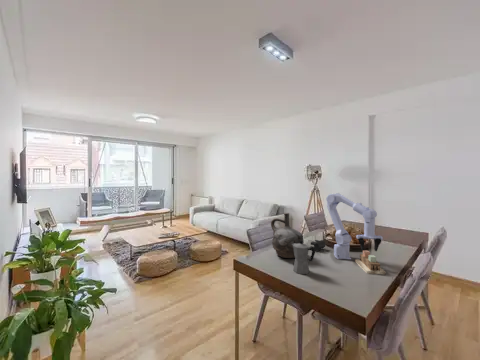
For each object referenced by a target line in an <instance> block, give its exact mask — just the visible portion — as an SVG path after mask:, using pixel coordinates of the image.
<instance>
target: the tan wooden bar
mask: <svg viewBox="0 0 480 360" xmlns="http://www.w3.org/2000/svg"><path fill="white" fill-rule="evenodd" d="M359 259H360V261H361V262H362V263H363V264H365V265H366V266H367V267H368V268H369V269H370V270H374V271H376V270H378V271H380V268H381V263H380V262H378V261H377V260H376V262H370V261H369V260H368V257H364V256H363V253H360V254H359Z"/></svg>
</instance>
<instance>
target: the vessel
mask: <svg viewBox="0 0 480 360" xmlns="http://www.w3.org/2000/svg"><path fill="white" fill-rule="evenodd" d="M283 214H284V218H282V217H274V218H272V220H271V221H270V227H271V229H272V231H273V232H272V234H273V235H272V240H271V244H272V248H273V249H274V250H275V253H276V255H278V256H279V257H280V258H283V259H284V258H285V259H294V258H295V256H294V248H293V246H292V245H291V244H294V243H296V244H298V243H300V241H303V242H302V244H305V243H304V235H303V233H301V232H300V231H299V230H297V229H296V228H292V227H291V226H290V225H291V224H290V213H289V212H284V213H283ZM276 222H280V223H283V224H284V227H279V228H277V227H276V226H275V223H276Z"/></svg>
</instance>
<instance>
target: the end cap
mask: <svg viewBox="0 0 480 360" xmlns="http://www.w3.org/2000/svg"><path fill="white" fill-rule="evenodd" d="M310 245H312V246H310V247H313V248H314V250H315V252H319V251H320V250H322V249H325V247H326V242H325V240H322V239H321V240H318V239H315V240H314V241H310Z"/></svg>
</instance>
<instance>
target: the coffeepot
mask: <svg viewBox="0 0 480 360" xmlns="http://www.w3.org/2000/svg"><path fill="white" fill-rule="evenodd" d="M303 241H304V240H303ZM303 241H300V243H298V244H296V243H294V244H291V245H292V246H293V248H294V256H295V259H294V264H293V272H294V273H296V274H300V275H307V274H309V272H310V269H309V268H310V267H309V262H313V260H314V257H315V255H316V251H315V250H314V248H313V247H314V246H313V247H311V246H310V245H309V244H307V243H303V244H302V242H303ZM309 251H311V255H310V258H309V259H308V256H309Z"/></svg>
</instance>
